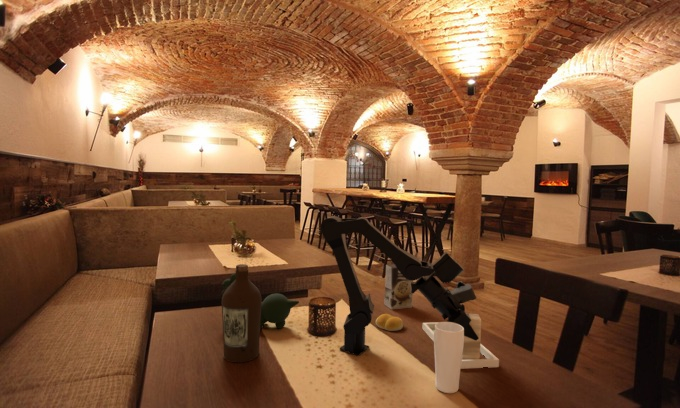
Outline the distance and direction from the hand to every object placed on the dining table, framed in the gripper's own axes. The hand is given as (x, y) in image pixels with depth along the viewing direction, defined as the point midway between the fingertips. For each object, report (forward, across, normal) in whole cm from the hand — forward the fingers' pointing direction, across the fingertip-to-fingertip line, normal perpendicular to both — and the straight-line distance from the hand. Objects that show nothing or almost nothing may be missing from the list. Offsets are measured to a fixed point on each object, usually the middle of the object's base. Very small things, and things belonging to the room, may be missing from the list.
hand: (475, 335), depth 109 cm
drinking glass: (-2, -17, +12) cm, 21 cm away
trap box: (+2, +8, +7) cm, 11 cm away
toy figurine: (-42, +11, +52) cm, 67 cm away
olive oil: (-40, -10, +50) cm, 65 cm away
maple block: (+4, 0, +6) cm, 7 cm away
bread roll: (-12, +20, +22) cm, 32 cm away
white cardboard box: (-10, +42, +20) cm, 47 cm away
